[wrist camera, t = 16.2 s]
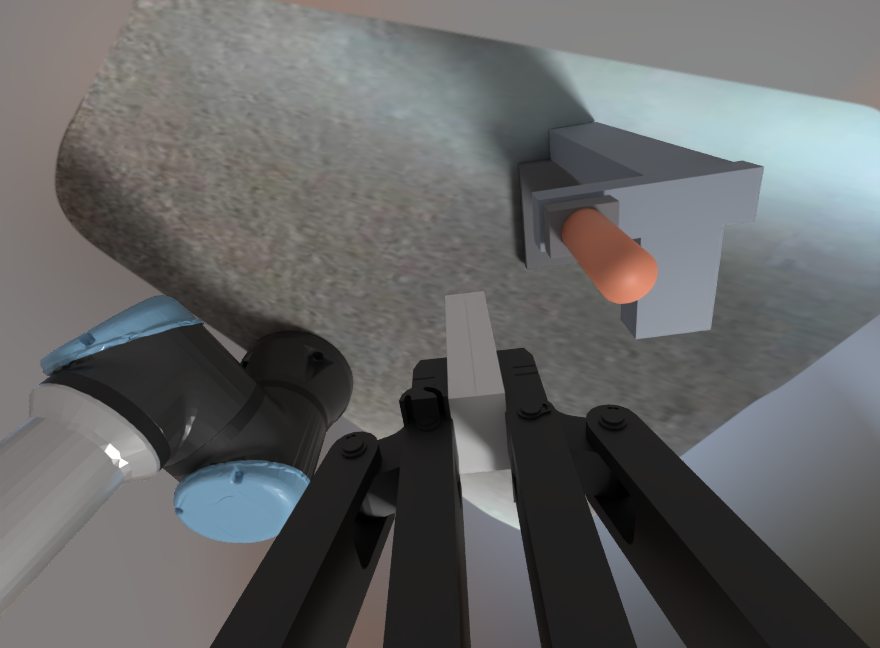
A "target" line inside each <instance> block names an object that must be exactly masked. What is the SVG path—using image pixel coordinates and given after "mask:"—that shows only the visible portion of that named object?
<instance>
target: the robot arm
mask: <svg viewBox="0 0 880 648" xmlns="http://www.w3.org/2000/svg"><path fill="white" fill-rule="evenodd" d="M445 304H446V337H447V357H446V358H437V359H428V360H420V361H419V363H418V364H417V365H416V367H415V368H414V369H413V381H412V388H411V389H409V390H407V391H406V392H405V393H404V394H402V395H401V398H400V400H399V404H400V408H401V413H402V418H403V423H404V427H403V428H402V429H401V430H400V431H398V432H397V433H395V434H393V435H391V436H388V437H385V438H382V439H379V440H377V438H376V437H375V436H374V435H372V434H371V433H367V432H353V433H350V434H347V435H344V436H343V437H341V438H340V439H338V440H337V441H336V442H335V443H334V444H333V445H332V447H331V448H330V450H329V451H328V453H327V455H326V456H325V458H324V460H323V461H322V463H321V465H320V466H319V468H318V470H317V471H316V473H315V470H316V466H317V463H318V459H319V456H320V452H321V449H322V445H323V442H324V438H325V435H326V432H327V431H328V429H329V428H330V427H331V426H332V424H333V423H335V422H336V421H337V420H338V419H339V418H340V417H341V416H342V414H343V413H344V412H345V410H346V408H347V406H348V404H349V401H350V398H351V394H352V390H353V376H352V372H351V369H350V367H349V365H348V363H347V361H346V359H345V358H344V357H343V355H342V354H341V353H340V352H339V351H338V350H337V349H336V348H335V347H334V346H332V345H331V344H330V343H328V342H326V341H325V340H323V339H321V338H319V337H316V336H314V335H311V334H307V333H303V332H295V331H285V332H278V333H274V334H270V335H268V336H265V337H263V338H262V339H260V340H258V341H257V342H256V343H255V344H254V345H253V346H252V347H251V348H250V349H249V350H248V352H247V353H246V355H245V356H244V358H243V359H242V361H241V363H239V362H238V361H237V360H236V359H235V358H234V357H233V356H232V355H231V354H230V353H229V352H228V351H227V350H226V349H225V348H224V347H223V346H222V345H221V343H219V342H218V340H216V338H215V337H214V336H213V335H212V334H211V333H210V332H209V331H208V330H207V329H206V328H205V327H204V326H203V324H204V323H203V322H202V321H201V320H200V319H196V318H195V317H194V316H193V315H192V314H191V313H190V312H189V311H188V310H187V309H186V308H185V307H184V306H182V305H181V304H180V303H179V302H178V301H177V300H175V299H174V298H172V297H169V296H163V295H162V296H154V297H151V298H149V299H146V300H144V301H142V302H140V303H138V304H136V305H134V306H132V307H130V308H128V309H126V310H125V311H123V312H121V313H119V314H117V315H115V316H113V317H112V318H110V319H108V320H106V321H105V322H103V323H101V324H99V325H97V326H96V327H94V328H92V329H91V330H89V331H88V332H87V333H84V334H82V335H81V336H79V337H77V338H75V339H73V340H71V341H69V342H68V343H66V344H64V345H62V346H61V347H59V348H57V349H56V350H54V351H53V352H51V353H49V354H48V355H46V356H45V357H44V358H42V359H41V362H40V366H41V367H42V368H43V373H44V374H45V375H47V376H50V377H49V378H47V379H46V380H45V381H43V382H42V383H41V384H39V385H38V386H36V388H34V389H33V390H32V391H31V393H30V396H29V418H28V419H27V420H26V421H25V422H24V423H23V424H22V425H20V426H19V427H18V428H17V429H15V430H14V431H13V432H12V433H10V434H9V435H8V436H7V437H5V438H4V439H3V440H2V441H0V616H2V614H3V613H4V612H5V611H6V610H7V609H8V608H9V607H10V606H11V605H12V603H13V602H14V601H15V600H16V599H17V598H18V597H19V596H20V595H21V594H22V593H23V592H24V591H25V590H26V588H27V587H28V586H29V585H30V584H31V583H32V582H33V581H34V580H35V579H36V578H37V576H38V575H39V574H40V573H41V572H42V571H43V570H44V569H45V568H46V567H47V566H48V564H50V562H51V561H52V560H53V559H54V558H55V557H56V556H57V555H58V554H59V553H60V552H61V551H62V549H63V548H64V547H65V546H66V545H67V544H68V543H69V542H70V541H71V540H72V539H73V538H74V536H75V535H76V534H77V533H78V532H79V531H80V530H81V529H82V528H83V527H84V526H85V524H86V523H87V522H88V521H89V520H90V519H91V518H92V517H93V516H94V515H95V514H96V512H97V511H98V510H99V509H100V508H101V507H102V506H103V505H104V504H105V503H106V502H107V501H108V500H109V498H110V497H111V496H112V495H113V494H114V493H115V492H116V491H117V490H118V489H119V488H120V487H121V485H123V484H126V483H132V482H137V481H143V480H148V479H151V478H153V477H154V476H155V475H156V474H157V473H158V472H159V471H160V470H161V469H162V468H163V469H165V470H166V471H167V472H168V473H169V474H171V475H172V476H173V477H174V478H175V479H177V480H178V481H179V482H180V483H179V484H178V485H177V488H176V490H175V492H174V495H175V496H174V501H173V503H174V506H175V507H176V508H175V512H176V515H177V516H178V518H179V519H180V520H181V521H182V522H183V524H184V525H186V526H187V527H188V528H190V529H191V530H192V531H194V532H196V533H198V534H200V535H202V536H204V537H207V538H210V539H214V540H218V541H223V542H229V543H232V542H238V543H251V542H259V541H263V540H267V539H269V538H272V537H275V536H277V535H278V536H277V537H276V539H275V541H274V542H273V544H272V546H271V547H270V549H269V551H268V552H267V554H266V556H265V557H264V559H263V560H262V562H261V564H260V565H259V567H258V569H257V571H256V572H255V574H254V575H253V577H252V579H251V580H250V582H249V584H248V585H247V587H246V589H245V590H244V592H243V593H242V595H241V597H240V598H239V600H238V602H237V603H236V605H235V607H234V608H233V610H232V612H231V613H230V615H229V617H228V618H227V620H226V622H225V623H224V625H223V627H222V628H221V630H220V632H219V633H218V635H217V636H216V638H215V640H214V642H213V643H212V645H211V646H210V648H346V646H347V643H348V641H349V638H350V636H351V633H352V630H353V628H354V625H355V622H356V620H357V617H358V614H359V612H360V609H361V606H362V604H363V601H364V598H365V596H366V593H367V590H368V588H369V585H370V582H371V580H372V577H373V574H374V572H375V569H376V566H377V564H378V561H379V558H380V556H381V553H382V550H383V548H384V545H385V542H386V540H387V537H388V534H389V532H390V529H391V526H392V523H393V521H394V518H395V526H394V537H393V547H392V558H391V569H390V580H389V590H388V600H387V611H386V621H385V633H384V643H383V648H471V641H470V626H469V625H470V624H469V608H468V590H467V573H466V556H465V538H464V521H463V505H462V488H461V481H460V474H464V473H475V472H485V471H495V470H505V469H511V472H512V484H513V497H514V502H516V506H517V512H518V518H519V523H520V529H521V534H522V540H523V546H524V552H525V557H526V563H527V569H528V574H529V580H530V586H531V591H532V597H533V602H534V609H535V614H536V620H537V625H538V631H539V637H540V643H541V648H637V646H636V643H635V640H634V637H633V634H632V631H631V628H630V625H629V623H628V619H627V616H626V613H625V611H624V608H623V605H622V602H621V599H620V596H619V593H618V590H617V587H616V584H615V582H614V579H613V576H612V573H611V570H610V567H609V564H608V561H607V559H606V555H605V553H604V549H603V547H602V544H601V541H600V538H599V535H598V532H597V529H596V526H595V523H594V520H593V517H592V514H591V511H590V509H589V506H588V503H587V500H588V501H589V503H590V504H591V506H592V507H593V509H594V510H595V512H596V513H597V515H598V516H599V518H600V519H601V521H602V522H603V524H604V525H605V527H606V528H607V529H608V531H609V533H610V534H611V536H612V537H613V538H614V540H615V542H616V543H617V545H618V546H619V548H620V549H621V550H622V552H623V553H624V555H625V556H626V558H627V559H628V561H629V562H630V564H631V565H632V567H633V568H634V570H635V571H636V573H637V574H638V576H639V577H640V579H641V580H642V582H643V583H644V584H645V586H646V588H647V589H648V590H649V592H650V594H651V595H652V596H653V598H654V599H655V601H656V602H657V604H658V605H659V607H660V608H661V610H662V611H663V613H664V614H665V615H666V617H667V619H668V620H669V622H670V623H671V625H672V626H673V628H674V629H675V631H676V632H677V634H678V635H679V636H680V638H681V640H682V641H683V642H684V644H685V645H686V647H687V648H870V647H869V646H868V645H867V644H866V643H864V641H863V640H862V639H861V638H860V637H859V636H857V635H856V633H855V632H854V631H853V630H852V629H851V628H850V627H849V626H848V625H847V624H846V623H844V621H843V620H841V619H840V618H839V617H838V615H837V614H836V613H835V612H833V610H832V609H831V608H830V607H829V606H827V605H826V603H824V602H823V600H822V599H820V598H819V596H818V595H817V594H816V593H815V592H813V590H811V588H810V587H808V585H806V583H804V581H802V580H801V579H800V578H799V577H798V576H797V575H796V574H795V573H794V572H793V571H792V570H791V569H790V568H789V567H788V566H787V565H786V564H785V563H784V562H783V561H782V560H781V559H780V558H779V557H778V556H777V555H776V554H775V553H774V552H773V551H772V550H771V549H770V548H769V547H768V546H767V545H766V544H765V543H764V542H763V541H762V540H761V539H760V538H759V537H758V536H757V535H756V534H755V533H754V532H753V531H752V530H751V529H750V528H749V527H748V526H747V525H746V524H745V523H744V522H743V521H742V520H741V519H740V518H739V517H738V516H737V515H736V514H735V513H734V512H733V511H732V510H731V509H730V508H729V507H728V506H727V505H726V504H725V503H724V502H723V501H722V500H721V499H720V498H719V497H718V496H717V495H716V494H715V493H714V492H713V491H712V490H711V489H710V488H709V487H708V486H707V485H706V484H705V483H704V482H703V481H702V480H701V479H700V478H699V477H698V476H697V475H696V474H695V473H694V472H693V471H692V470H691V469H690V468H689V467H688V466H687V465H686V464H685V463H684V462H683V461H682V460H681V459H680V458H679V457H678V456H677V455H676V454H675V453H674V452H673V451H672V450H671V449H670V448H669V447H668V446H667V445H666V444H665V443H664V442H663V441H662V440H661V439H660V438H659V437H658V436H657V435H656V434H655V433H654V432H653V431H652V430H651V429H650V428H649V427H648V426H647V425H646V424H645V423H644V422H643V421H642V420H641V419H640V418H639V417H638V416H637V415H636V414H635V413H633V412H632V411H630V410H629V409H627V408H624V407H621V406H618V405H601V406H597V407H595V408H593V409H591V410H590V411H589V412H588V414H587V416H586V418H585V417H577V416H571V415H566V414H563V413H561V412H559V411H557V410H556V409H555V408H554V406H553V405H552V403H550V402H548V400H547V397H546V394H545V391H544V388H543V385H542V382H541V379H540V376H539V374H538V370H537V367H536V364H535V361H534V358H533V355H532V354H531V353H529V352H528V351H527V350H526V349H525V348H517V349H508V350H499V351H496V348H495V343H494V338H493V333H492V328H491V324H490V319H489V314H488V309H487V304H486V299H485V295H484V291H481V292H473V293H464V294H456V295H448V296H445ZM314 473H315V475H314ZM585 495H586V497H585ZM586 498H587V500H586ZM395 513H396V516H395Z"/></svg>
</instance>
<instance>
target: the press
mask: <svg viewBox="0 0 880 648" xmlns="http://www.w3.org/2000/svg"><path fill="white" fill-rule="evenodd" d="M549 141H550V159H546V160H539V161H533V162H526V163H520V164H518V168H519V183H520V198H521V212H522V227H523V242H524V257H525V266H526V268H527V270H531V269H538V268H545V267H552V266H559V265H567V264H574V263H578V262H577V260H576V259H575V258H574V256H568V257H561V258H554V259H550V257H549V255H548V254H547V252H546V250H545V236H544V214H543V205H544V204H551V203H558V202H565V201H571V200H578V199H585V198H592V197H598V196H605V195H611V196H612V197H614V198H615V199H617V200H618V201H619V229H621V230H622V231H623V232H624V233H625V234H627V235H628V236H629V237H630V238H631V239H633V240H634V241H635V242H636V243H637V244H639V245H640V246H641V247H642V248H643V249H645V250H646V251H647V252H648V253H649V254H650V255H652V256H653V258H654V259H655V261H656V263H657V267H658V275H657V279H656V282H655V284H654V286H653V287H652V289H651V290H650V291H649V292H648V293H647V294H646V295H645V296H643V297H642V298H640V299H639V300H636V301H634V302H631V303H624V304H621V320H622V322H623V323H624V324H625V326H626V327H627V328H628V330H629V331H630V332H631V334H632V335H633V336H634V338H635V339H641V338H649V337H657V336H664V335H672V334H680V333H688V332H695V331H703V330H711V322H712V315H713V308H714V300H715V293H716V286H717V278H718V271H719V264H720V256H721V249H722V242H723V234H724V227H725V226H727V225H734V224H741V223H748V222H755V217H756V211H757V205H758V199H759V193H760V187H761V181H762V175H763V169H764V167H763V166H760V165H756V164H753V163H749V162H745V161H737V162H732V161H728V160H725V159H721V158H718V157H714V156H711V155H708V154H704V153H701V152H697V151H694V150H690V149H687V148H684V147H680V146H677V145H673V144H670V143H666V142H663V141H660V140H656V139H653V138H649V137H646V136H642V135H639V134H636V133H632V132H629V131H625V130H622V129H618V128H615V127H611V126H608V125H605V124H601V123H598V122H594V123H588V124H581V125H575V126H569V127H562V128H556V129H550V130H549Z"/></svg>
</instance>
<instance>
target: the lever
mask: <svg viewBox="0 0 880 648" xmlns="http://www.w3.org/2000/svg"><path fill="white" fill-rule="evenodd" d="M543 214H544V236H545V250H546V252H547V254H548V255H549V257H550V259H554V258H561V257H568V256H574V258H575V259H576V260H577V262H578V263H579V264H580V266H581V267H582V268H583V270H584V271H585V272H586V274H587V275H588V276H589V278H590V279H591V280H592V281H593V283H594V284H595V285H596V287H597V288H598V289H599V291H600V292H601V293H602V295H603V296H604V297H605V298H606V299H608V300H609V301H612V302H615V303H621V304H624V303H631V302H634V301H636V300H639V299H640V298H642V297H643V296H645V295H646V294H647V293H648V292H649V291H650V290H651V289H652V287H653V286H654V284H655V282H656V279H657V275H658V267H657V263H656V261H655V259H654V258H653V256H652V255H650V254H649V253H648V252H647V251H646V250H645V249H643V248H642V247H641V246H640V245H639V244H637V243H636V242H635V241H634V240H633V239H631V238H630V237H629V236H628V235H627V234H625V233H624V232H623V231H622V230H621V229H619V201H618V200H617V199H615V198H614V197H612V196H611V195H605V196H598V197H592V198H585V199H578V200H571V201H565V202H558V203H551V204H544V205H543Z"/></svg>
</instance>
